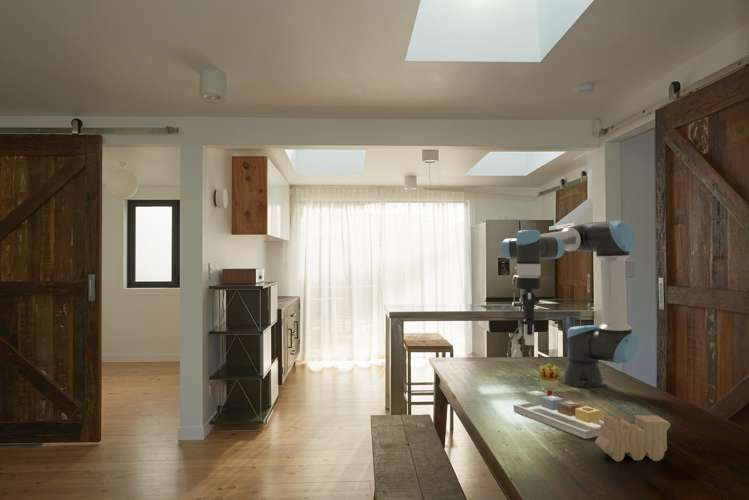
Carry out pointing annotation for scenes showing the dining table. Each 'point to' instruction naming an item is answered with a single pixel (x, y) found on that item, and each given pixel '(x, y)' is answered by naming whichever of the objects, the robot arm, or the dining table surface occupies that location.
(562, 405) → the key
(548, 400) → the blue square block
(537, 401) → the key
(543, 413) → the base
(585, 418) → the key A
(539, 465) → the dining table surface
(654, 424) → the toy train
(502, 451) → the dining table surface
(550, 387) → the toy
